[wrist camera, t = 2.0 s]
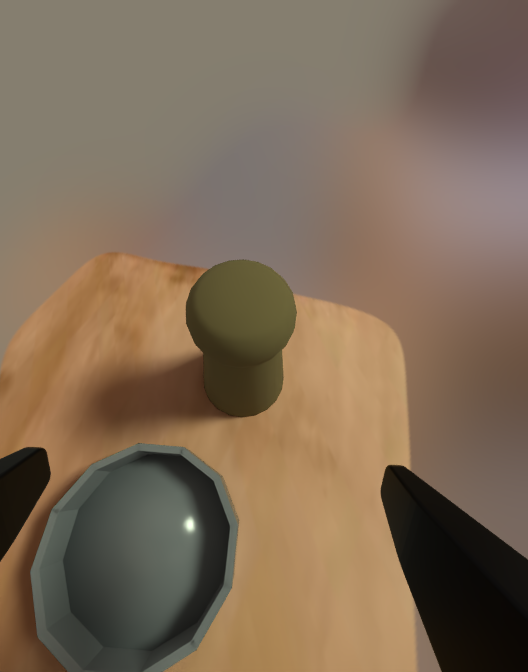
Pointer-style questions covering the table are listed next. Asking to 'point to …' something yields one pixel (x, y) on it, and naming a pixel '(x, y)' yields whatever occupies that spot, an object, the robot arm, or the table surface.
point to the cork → (241, 333)
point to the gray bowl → (135, 562)
